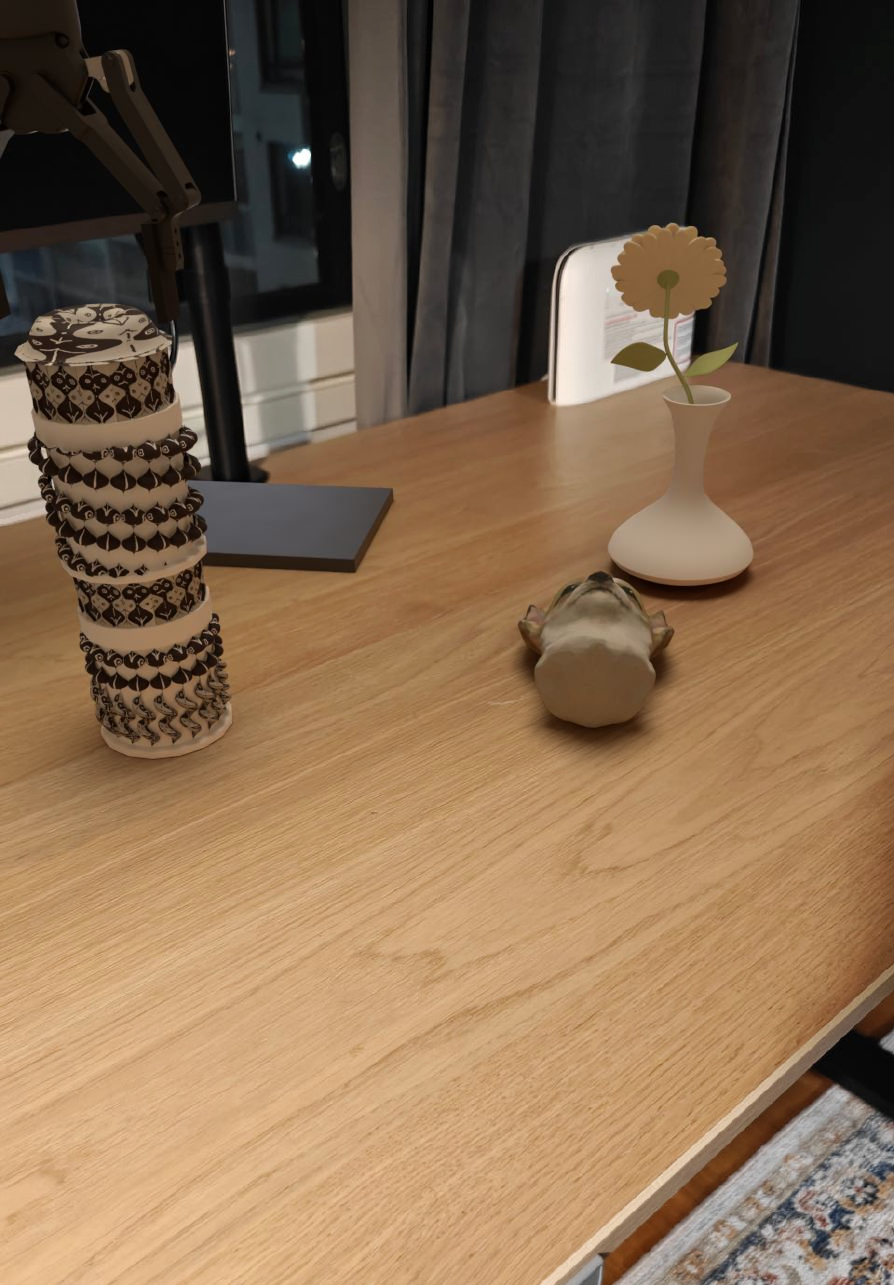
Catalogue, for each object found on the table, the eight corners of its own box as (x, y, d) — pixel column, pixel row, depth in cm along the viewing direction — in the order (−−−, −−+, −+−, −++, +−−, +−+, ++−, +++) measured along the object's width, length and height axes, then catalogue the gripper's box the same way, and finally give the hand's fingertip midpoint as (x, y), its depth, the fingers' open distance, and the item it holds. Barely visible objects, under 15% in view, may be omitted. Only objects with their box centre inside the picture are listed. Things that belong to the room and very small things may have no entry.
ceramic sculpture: (507, 612, 66) (523, 527, 78) (503, 742, 70) (520, 642, 83) (694, 620, 64) (680, 533, 77) (677, 752, 69) (667, 649, 82)
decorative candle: (105, 776, 68) (2, 345, 54) (86, 703, 76) (-9, 305, 61) (253, 743, 71) (193, 324, 57) (222, 676, 78) (161, 288, 64)
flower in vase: (769, 557, 92) (822, 218, 78) (721, 612, 85) (770, 246, 70) (622, 528, 98) (645, 206, 84) (564, 577, 90) (578, 231, 76)
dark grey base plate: (90, 560, 95) (82, 526, 93) (159, 491, 108) (153, 460, 106) (355, 573, 92) (352, 538, 90) (393, 500, 104) (392, 468, 103)
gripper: (-207, -28, 70) (-99, 331, 83) (172, -48, 66) (227, 332, 79) (-137, -28, 76) (-46, 306, 89) (215, -46, 72) (259, 307, 85)
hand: (82, 319), depth 84 cm, fingers open, 13 cm apart
